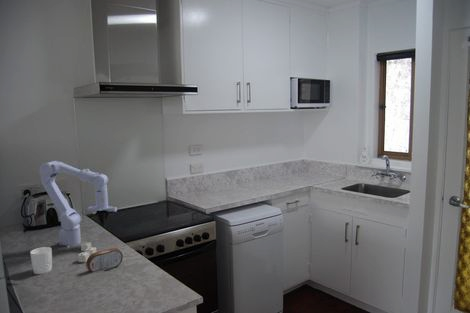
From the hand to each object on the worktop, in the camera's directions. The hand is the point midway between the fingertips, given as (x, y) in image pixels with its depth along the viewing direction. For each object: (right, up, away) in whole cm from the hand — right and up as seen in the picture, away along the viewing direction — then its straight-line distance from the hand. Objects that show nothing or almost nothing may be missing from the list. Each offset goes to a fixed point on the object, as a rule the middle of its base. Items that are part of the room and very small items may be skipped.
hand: (103, 225), depth 180 cm
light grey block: (-5, -10, -8) cm, 14 cm away
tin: (+11, -14, -27) cm, 33 cm away
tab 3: (0, -11, -15) cm, 19 cm away
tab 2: (-1, -12, -21) cm, 24 cm away
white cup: (-15, -15, -30) cm, 36 cm away
